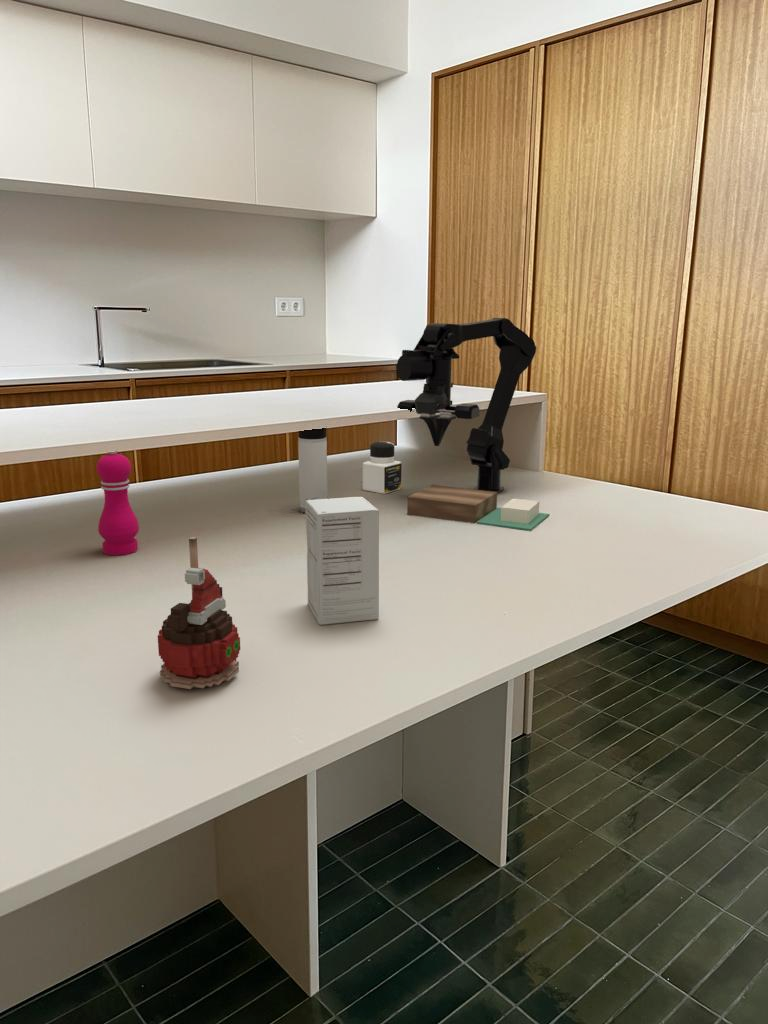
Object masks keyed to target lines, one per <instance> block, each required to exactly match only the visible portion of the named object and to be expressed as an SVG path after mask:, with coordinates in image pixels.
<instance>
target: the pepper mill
mask: <svg viewBox="0 0 768 1024" xmlns="http://www.w3.org/2000/svg"><path fill="white" fill-rule="evenodd" d="M107 453H108V454H105V455H103V456H100V458H99V459H98V461H97V463H96V473H97V474H98V476H99V477H100V479H102V480H101V481H100V484H101V486H100V489H102V490H103V494H104V504H103V509H102V512H101V514H100V517H99V521H98V527H97V528H98V529H97V530H98V534H99V535H100V537H101V538H102V539H103V540H104V541H103V542H102V544H101V545H102V552H103V553H104V554H105V555H108V556H126V555H129V554H134V553H135V552H137V551H138V549H139V546H138V545H139V544H138V539H136V538H135V537H136V536H137V535H138V534H139V530H140V526H139V521H138V518H137V515H136V514H135V513H134V511H133V509H132V507H131V504H130V501H129V494H128V493H129V492H128V489H129V488H130V486H131V485H130V480H129V478H128V477H129V476H130V475H131V472H132V464H131V461H130V460H129V458H128V457H126V456H125V455H123V454H120V453H118V451H115V452H108V451H107Z"/></svg>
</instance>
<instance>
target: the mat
mask: <svg viewBox="0 0 768 1024" xmlns="http://www.w3.org/2000/svg"><path fill="white" fill-rule="evenodd" d="M549 516H550V513H544V512H539V515H537V516H536V517H535V518H534V519H533V520H532V521H531V522H530V523H529V524H522V523H514V522H506V521H501V507H497V508H496V509H495V510H493V511H492V512H490V513H489V514H487V515H486V516H484V517H483V518H481V519H480V520H478V521H477V522H476V523H477V524H476V523H475V524H476V525H484V526H491V527H497V528H506V529H511V530H513V529H514V530H521V531H526V532H527V531H529V532H532V531H533V530H534V529H535V528H537V526H539V525H540V524H541V523H542V522H544V521H545V520H546V519H547V518H549Z"/></svg>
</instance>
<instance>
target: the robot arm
mask: <svg viewBox="0 0 768 1024" xmlns="http://www.w3.org/2000/svg"><path fill="white" fill-rule="evenodd" d="M488 337H489V338H491V337H493V342H494V344H495V346H496V347H497V348H498V349H499V356H498V360H499V365H500V370H499V373H498V375H497V377H498V378H497V380H496V383H495V384H494V385H495V386H494V389H493V391H492V394H491V398H490V401H489V404H488V407H487V409H486V412H485V416H484V419H483V421H482V423H481V425H479V427H477V428H475V427H472V428H471V430H470V433H469V436H468V437H469V438H468V439H467V441H466V444H467V447H466V452H467V454H468V456H469V459H470V462H471V465H472V466H473V465H474V466H477V485H476V486H475V487H474V488H473V489H474V490H483V491H492V492H497V494H499V493H500V492H502V491H503V490H505V486H501V474H502V472H501V471H503V470H506V469H508V468H509V465H510V462H511V460H510V458H509V457H508V456H507V454H506V453H505V451H504V450H503V447H504V442H505V441H504V436H503V427H504V424H505V420H506V418H507V415H508V412H509V409H510V407H511V403H512V400H513V397H514V395H515V391H516V387H517V385H518V382H519V380H520V376H521V375H522V374H523V373H524V372H525V371H526V369H528V367H529V366H531V364H532V361H533V359H534V357H535V355H536V353H537V346H536V344H535V343H536V342H535V341H534V339H533V338H532V337H529V336H528V334H527V333H526V332H524V331H523V330H522V329H520V328H519V327H517V326H516V325H515V324H513V322H512V321H511V320H510V319H509V318H506V317H493V318H491V319H485V320H479V321H473V322H465V323H459V324H457V323H456V324H455V323H439V322H437V323H436V322H431V323H428V324H426V326H425V328H424V330H423V334H422V335H421V337H420V338H419V340H418V342H417V344H416V345H415V347H414V348H413V350H411V349H402V351H401V356H400V357H399V358H398V360H397V363H396V364H395V368H396V369H395V371H396V372H395V373H396V375H397V377H398V379H399V380H400V381H402V382H410V381H424V380H425V382H426V383H424V384H423V390H422V392H421V393H420V394H419V395H418V396H417V397H416V398H415V399H406V400H402V401H399V402H398V403H397V405H396V407H397V408H400V409H408V410H410V412H411V411H412V408H415V409H416V412H415V413H416V414H418V415H419V419H420V420H422V421H424V423H426V425H427V428H428V430H429V433H430V435H431V436H430V437H431V438H432V442H433V445H434V447H439V446H440V445H441V443H442V440H443V438H444V436H445V433H446V432H447V429H448V428H449V426H450V424H451V422H452V421H453V420H455V419H456V418H457V419H462V420H463V419H464V420H465V419H466V420H472V419H475V418H479V417H480V410H481V409H480V407H479V405H478V404H476V403H475V404H474V403H461V404H457V405H456V406H453V400H452V398H451V393H452V388H453V387H454V383H453V382H452V362H453V361H452V360H457V359H460V355H459V354H458V353H457V352H456V351H455V350H454V348H456V347H458V346H460V345H462V343H464V342H468V341H472V340H477V339H478V340H479V339H483V338H488ZM397 408H396V409H397ZM412 412H413V411H412ZM412 412H411V413H412Z"/></svg>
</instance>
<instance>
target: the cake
mask: <svg viewBox="0 0 768 1024" xmlns="http://www.w3.org/2000/svg"><path fill="white" fill-rule="evenodd" d="M197 540H198V538H197V537H195V536H191V537H190V538H188V546H189V547H188V548H189V562H190V563H189V564H190V567H189V568H187V569H186V570H185V572H186V573H184V581H185V583H186V584H188V585H191V599H190V602H189V603H186V602H179V603H177V604H175V605H173V606H172V607H171V608H170V614H169V615H167V616H166V617H167V618H165V619H164V620H163V621H162V625H161V629H158V635H157V645H158V647H157V648H158V649H157V650H158V656H159V657H160V659H161V660H162V663H163V664H161V665H160V668H161V669H160V670H159V675H160V677H161V680H163V683H169V685H170V687H174V688H182V689H188V690H191V689H193V688H197V689H198V688H199V689H205V687H210V688H211V687H213V685H216V686H219V685H220V684H222V682H224V681H230V680H231V679H233V677H234V676H236V675H237V674H238V673H239V672H240V668H239V666H240V663H239V661H238V660H237V659H238V658H239V654H240V651H241V637H239V633H238V626H236V624H235V623H233V616H231V614H230V613H228V610H224V609H226V607H227V605H226V604H227V603H226V599H225V598H224V596H223V587H221V586H220V583H218V581H217V579H216V578H215V577H214V576H213V574H212V573H211V572H210V571H209V569H206V568H202V567H201V568H200V567H199V559H198V557H199V556H198V555H199V554H198V553H199V552H198V541H197Z"/></svg>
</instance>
